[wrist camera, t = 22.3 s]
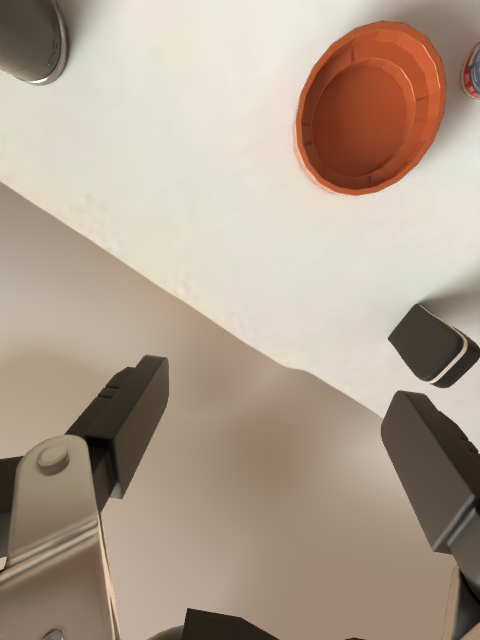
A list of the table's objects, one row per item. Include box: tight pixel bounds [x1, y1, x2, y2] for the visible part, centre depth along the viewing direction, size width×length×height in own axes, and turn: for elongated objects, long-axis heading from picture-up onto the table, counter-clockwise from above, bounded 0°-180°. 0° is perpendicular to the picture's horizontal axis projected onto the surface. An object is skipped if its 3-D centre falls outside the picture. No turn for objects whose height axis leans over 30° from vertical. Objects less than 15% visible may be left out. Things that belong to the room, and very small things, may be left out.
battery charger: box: [388, 304, 480, 388], centre depth 36 cm, size 7×4×11 cm, turn 156°
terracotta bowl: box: [293, 21, 446, 196], centre depth 30 cm, size 14×14×4 cm
